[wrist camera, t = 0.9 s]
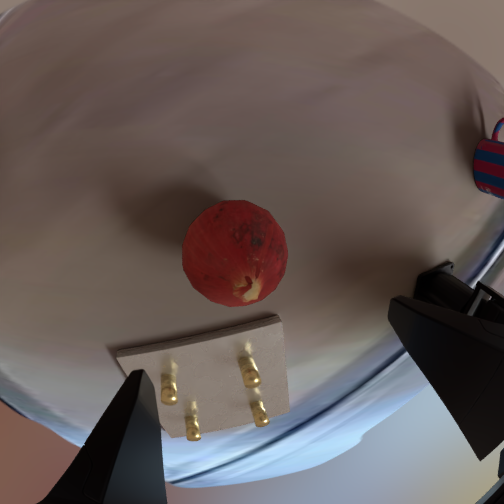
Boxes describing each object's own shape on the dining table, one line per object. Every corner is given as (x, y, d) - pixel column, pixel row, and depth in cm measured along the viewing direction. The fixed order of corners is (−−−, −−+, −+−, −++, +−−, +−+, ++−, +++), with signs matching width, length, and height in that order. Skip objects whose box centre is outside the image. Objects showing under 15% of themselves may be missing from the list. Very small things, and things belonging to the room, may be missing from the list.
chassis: (278, 314, 23) (292, 341, 19) (287, 405, 28) (297, 428, 25) (117, 350, 20) (112, 379, 17) (171, 431, 26) (173, 455, 23)
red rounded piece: (203, 175, 17) (219, 202, 10) (280, 210, 19) (338, 255, 12) (169, 254, 18) (165, 326, 11) (243, 280, 21) (276, 353, 13)
